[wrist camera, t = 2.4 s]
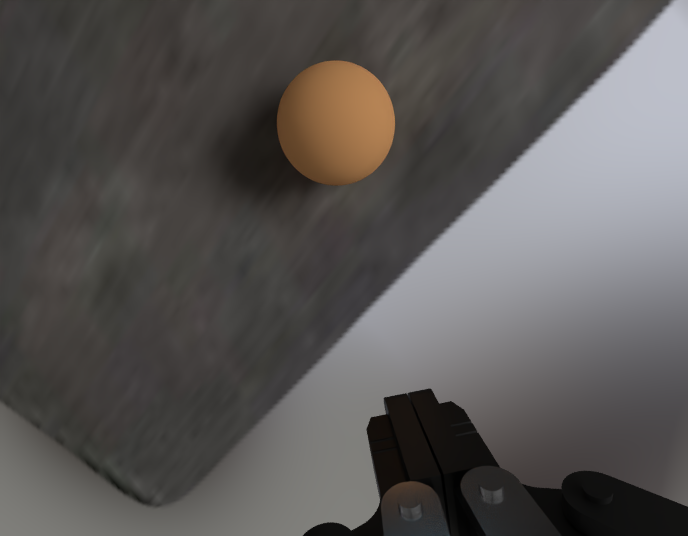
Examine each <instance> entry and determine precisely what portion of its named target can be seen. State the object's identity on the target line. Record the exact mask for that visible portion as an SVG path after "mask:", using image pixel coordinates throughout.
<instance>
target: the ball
mask: <svg viewBox="0 0 688 536" xmlns="http://www.w3.org/2000/svg"><path fill="white" fill-rule="evenodd" d="M394 130H395V116H394V110H393V106H392V102H391V100H390V97H389V95H388V93H387V91H386V90H385V88H384V86H383V85H382V84H381V82H380V81H379V80H378V79H377V78H376V77H375V76H374V75H373V74H372V73H370V72H369V71H368V70H366V69H364V68H363V67H361V66H359V65H356V64H354V63H350V62H346V61H326V62H321V63H318V64H315V65H312V66H311V67H309V68H307V69H305V70H304V71H302V72H301V73H299V74H298V75H297V76H296V77H295V78H294V79H293V80H292V82H291V83H290V84H289V85H288V87H287V88H286V90H285V92H284V94H283V96H282V98H281V101H280V104H279V108H278V114H277V131H278V137H279V141H280V144H281V147H282V149H283V151H284V153H285V155H286V157H287V158H288V160H289V161H290V163H291V164H292V165H293V166H294V167H295V168H296V169H297V170H298V171H299V172H300V173H301V174H303V175H304V176H306V177H307V178H309V179H311V180H313V181H315V182H318V183H321V184H326V185H335V186H337V185H346V184H351V183H354V182H357V181H359V180H361V179H363V178H365V177H367V176H368V175H370V174H371V173H372V172H373V171H375V170H376V169H377V168H378V167H379V165H380V164H381V163H382V162H383V160H384V159H385V157H386V156H387V154H388V152H389V150H390V147H391V144H392V141H393V137H394Z"/></svg>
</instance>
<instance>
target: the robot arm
mask: <svg viewBox="0 0 688 536" xmlns="http://www.w3.org/2000/svg"><path fill="white" fill-rule="evenodd" d="M384 405H385V410H386V415H381V416H376V417H371V419H370V421H369V424H368V427H367V434H368V440H369V445H370V451H371V456H372V461H373V467H374V473H375V477H376V482H377V487H378V492H379V497H380V503H379V507H378V509H377V511H376V512H375V514H374V515H373V516H372V517H371V518H370V519H369V520H368V521H367V522H366V523H364V524H362V525H361V526H359V527H357V528H355V529H353V530H352V531H351V530H350V529H349V528H347V527H346V526H344V525H342V524H339V523H323V524H320V525H317V526H315V527H313V528H311V529H310V530H308V531H307V532H306V533H305V534H304V535H303V536H688V507H687V506H684V505H682V504H679V503H677V502H674V501H672V500H669V499H667V498H664V497H662V496H659V495H656V494H654V493H651V492H649V491H646V490H644V489H641V488H639V487H636V486H634V485H631V484H629V483H626V482H624V481H621V480H618V479H616V478H613V477H611V476H608V475H605V474H603V473H599V472H593V471H578V472H574V473H572V474H570V475H568V476H567V477H566V478H565V479H564V480H563V483H562V489H550V488H537V487H531V486H526V485H524V484H521V483H520V481H519V480H518V479H517V478H516V477H515V476H514V475H513V474H512V473H510V472H509V471H507V470H504V469H502V468H500V467H499V465H498V463H497V462H496V460H495V459H494V457H493V455H492V454H491V452H490V451H489V449H488V447H487V446H486V444H485V443H484V441H483V439H482V438H481V436H480V435H479V433H477V430H476V428H475V427H474V425H473V424H472V423H471V420H470V419H469V417H468V416H467V414H466V412H465V411H464V409H462V408H461V407H459V406H457V405H456V404H455V403H453V402H451V401H450V402H445V403H441V404H439V403H438V401H437V399H436V397H435V395H434V393H433V391H432V390H431V389H425V390H420V391H415V392H410V393H408V396H407V394H406V393H405V394H400V395H395V396H390V397H385V398H384Z"/></svg>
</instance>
